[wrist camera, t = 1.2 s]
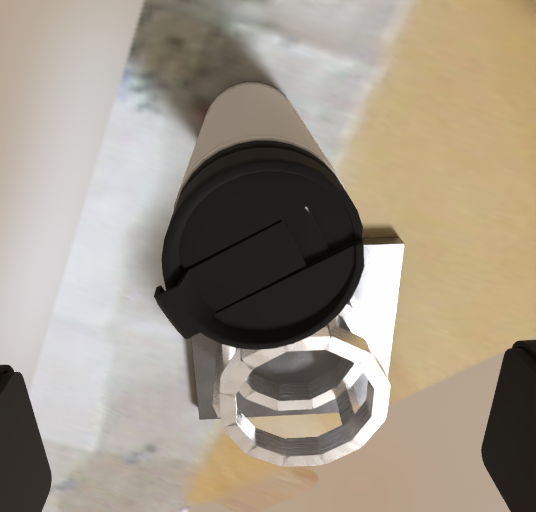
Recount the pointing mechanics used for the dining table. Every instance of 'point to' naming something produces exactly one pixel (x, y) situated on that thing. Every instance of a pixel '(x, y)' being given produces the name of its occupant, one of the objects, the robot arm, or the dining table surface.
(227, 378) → the collar stand
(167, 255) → the travel mug
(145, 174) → the dining table surface
